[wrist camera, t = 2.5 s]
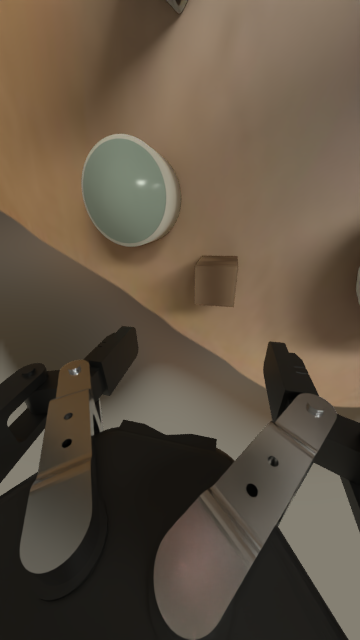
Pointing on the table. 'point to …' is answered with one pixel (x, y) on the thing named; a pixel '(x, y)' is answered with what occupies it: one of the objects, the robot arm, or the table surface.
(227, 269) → the walnut block
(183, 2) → the coffee box
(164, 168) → the ceramic bowl
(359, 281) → the white purple floral bowl
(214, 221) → the table surface
